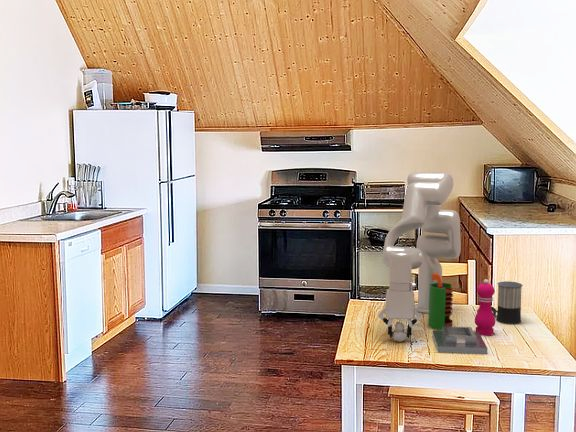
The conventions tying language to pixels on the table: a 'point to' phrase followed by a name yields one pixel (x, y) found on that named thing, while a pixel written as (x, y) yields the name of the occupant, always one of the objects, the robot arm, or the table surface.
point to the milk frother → (508, 303)
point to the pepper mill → (485, 309)
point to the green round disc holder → (440, 304)
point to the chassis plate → (459, 340)
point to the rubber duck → (399, 332)
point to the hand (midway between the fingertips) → (399, 336)
